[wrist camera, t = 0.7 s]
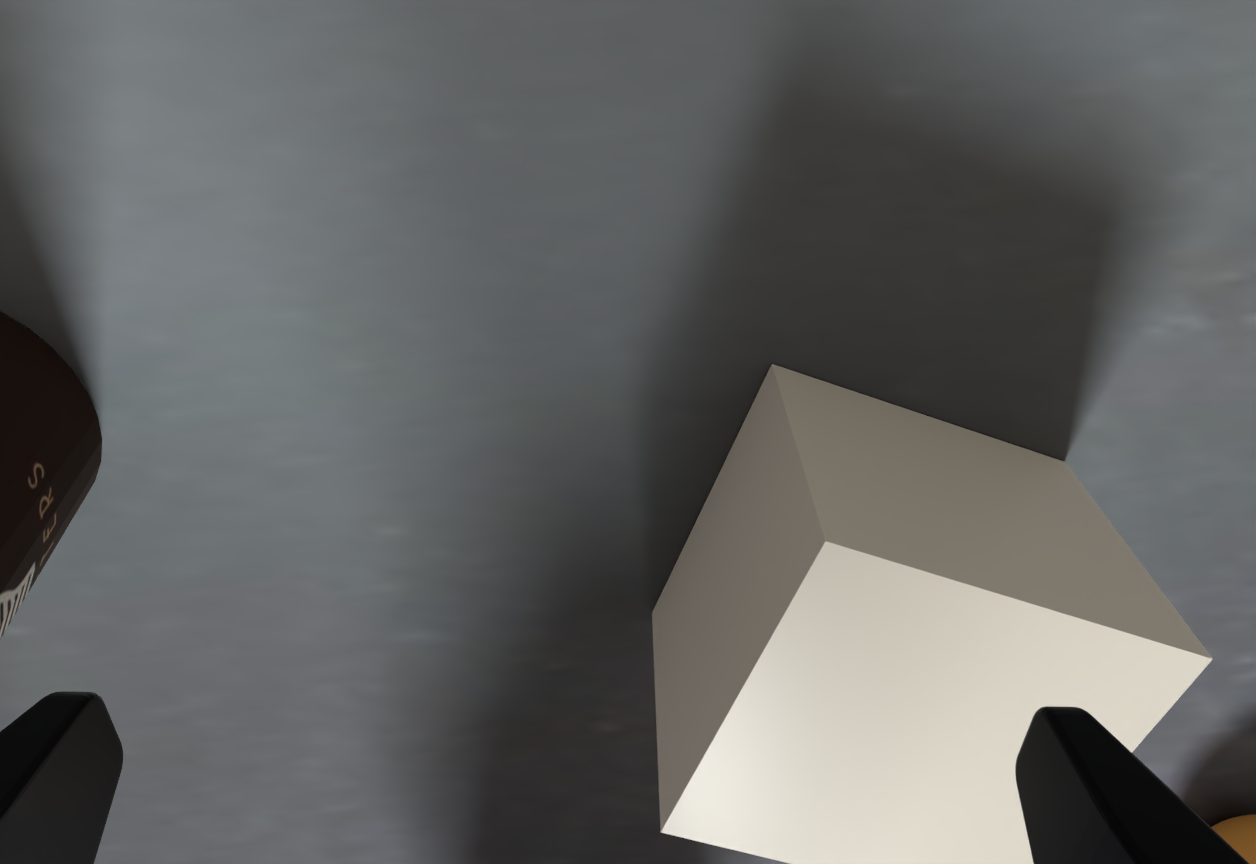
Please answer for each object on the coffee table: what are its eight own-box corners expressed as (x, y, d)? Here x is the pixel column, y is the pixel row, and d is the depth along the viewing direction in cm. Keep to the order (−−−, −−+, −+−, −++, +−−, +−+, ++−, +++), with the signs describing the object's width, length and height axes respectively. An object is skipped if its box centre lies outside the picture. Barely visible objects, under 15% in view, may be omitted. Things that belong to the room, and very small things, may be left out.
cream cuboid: (913, 686, 27) (993, 912, 21) (651, 612, 26) (660, 831, 20) (1065, 462, 24) (1212, 658, 18) (772, 363, 22) (825, 541, 16)
